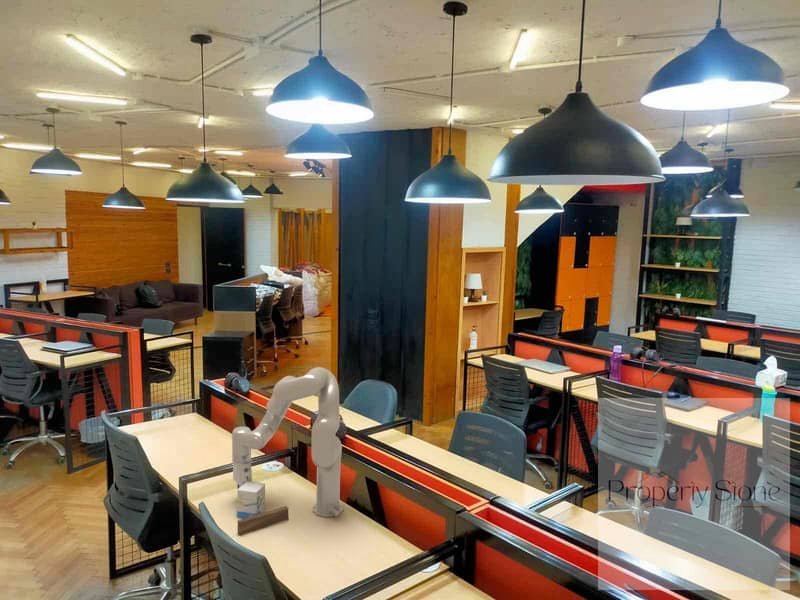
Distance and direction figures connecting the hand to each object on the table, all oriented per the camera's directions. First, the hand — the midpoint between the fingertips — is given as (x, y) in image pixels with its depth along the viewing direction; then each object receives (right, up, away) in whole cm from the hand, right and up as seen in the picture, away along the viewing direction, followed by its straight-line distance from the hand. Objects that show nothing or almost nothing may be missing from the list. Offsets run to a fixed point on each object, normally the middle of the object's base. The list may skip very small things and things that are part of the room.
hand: (241, 498), depth 229 cm
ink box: (+6, -3, -8) cm, 10 cm away
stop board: (+13, -5, -17) cm, 22 cm away
